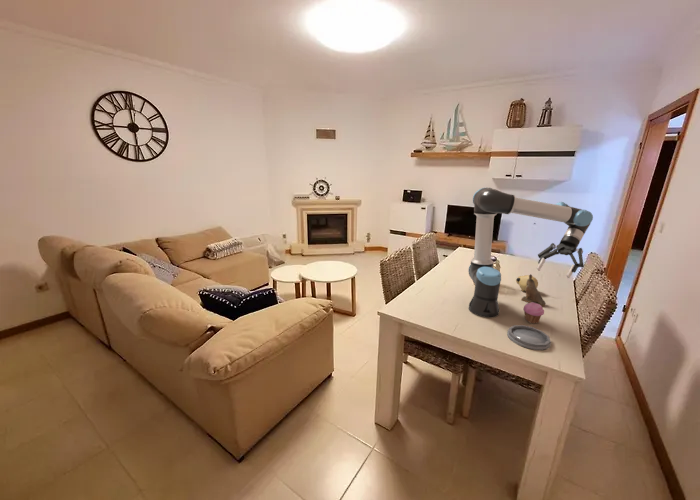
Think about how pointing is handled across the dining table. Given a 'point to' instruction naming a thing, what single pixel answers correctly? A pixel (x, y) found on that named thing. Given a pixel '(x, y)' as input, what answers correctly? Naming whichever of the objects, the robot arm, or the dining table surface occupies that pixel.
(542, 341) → the slate plate
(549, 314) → the dining table surface
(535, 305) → the cupcake
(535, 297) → the worn brown figurine
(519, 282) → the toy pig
